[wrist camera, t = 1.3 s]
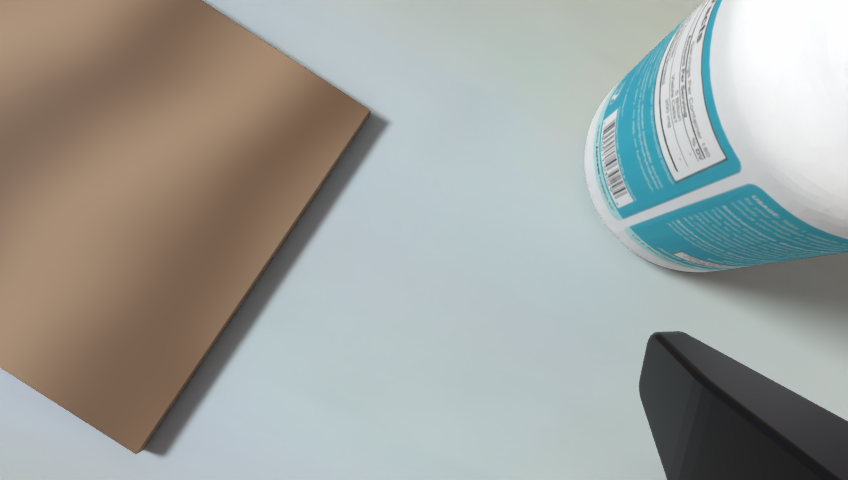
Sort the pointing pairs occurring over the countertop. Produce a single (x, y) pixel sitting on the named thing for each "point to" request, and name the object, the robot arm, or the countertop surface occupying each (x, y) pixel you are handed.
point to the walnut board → (144, 193)
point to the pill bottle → (730, 139)
